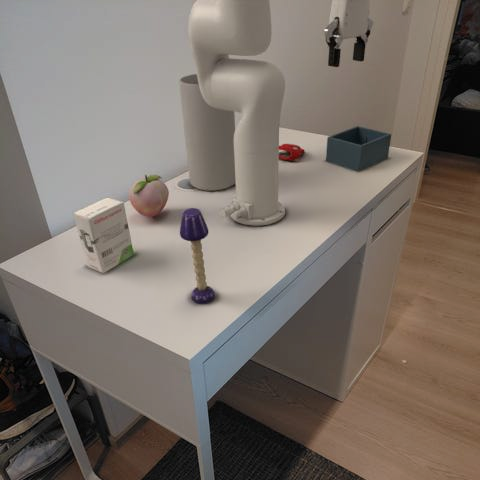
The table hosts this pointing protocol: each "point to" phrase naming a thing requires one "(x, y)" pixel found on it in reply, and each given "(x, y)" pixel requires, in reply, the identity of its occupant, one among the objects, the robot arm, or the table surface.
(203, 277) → the toy lamp
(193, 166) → the cylinder vase
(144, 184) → the decorative fruit
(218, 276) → the table surface
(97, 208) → the ink box
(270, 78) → the robot arm
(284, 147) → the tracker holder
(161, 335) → the table surface
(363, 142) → the teal open box
